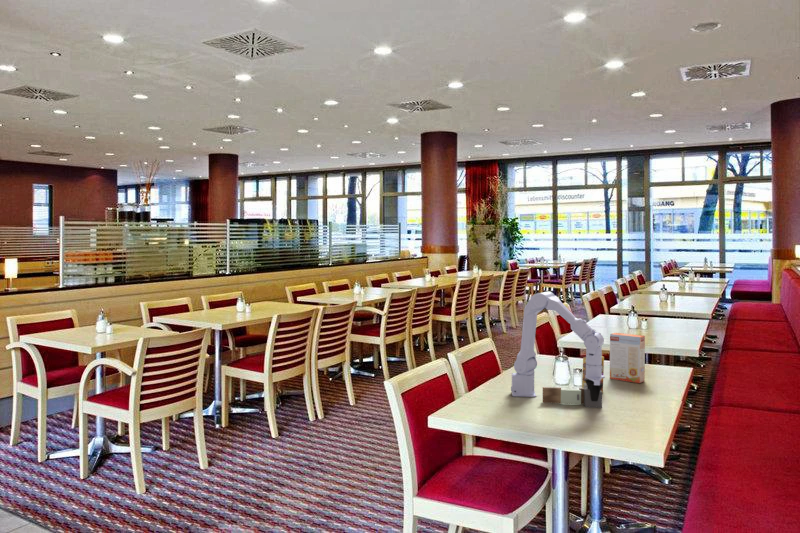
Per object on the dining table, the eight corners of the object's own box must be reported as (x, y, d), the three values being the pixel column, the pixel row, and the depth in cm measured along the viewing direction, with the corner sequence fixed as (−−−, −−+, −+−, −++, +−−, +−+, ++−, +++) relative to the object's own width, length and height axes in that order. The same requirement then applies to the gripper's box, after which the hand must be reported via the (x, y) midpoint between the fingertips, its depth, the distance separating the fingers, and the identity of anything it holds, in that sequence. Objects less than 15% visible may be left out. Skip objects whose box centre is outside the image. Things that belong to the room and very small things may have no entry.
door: (561, 404, 235) (561, 390, 234) (560, 403, 237) (560, 389, 236) (581, 405, 234) (581, 391, 233) (580, 403, 236) (580, 389, 235)
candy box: (589, 395, 249) (590, 358, 248) (581, 393, 252) (581, 357, 251) (604, 392, 254) (604, 356, 253) (595, 390, 257) (595, 354, 256)
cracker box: (645, 381, 271) (645, 335, 270) (639, 384, 267) (640, 337, 266) (614, 376, 281) (615, 331, 280) (609, 378, 277) (609, 333, 276)
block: (585, 407, 232) (585, 391, 232) (584, 404, 236) (584, 389, 236) (601, 407, 231) (602, 392, 231) (600, 404, 235) (600, 389, 235)
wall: (542, 402, 239) (542, 387, 238) (542, 401, 240) (542, 387, 239) (584, 404, 236) (584, 388, 236) (584, 403, 238) (584, 388, 237)
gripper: (608, 368, 225) (608, 404, 226) (601, 360, 239) (600, 394, 240) (588, 368, 226) (588, 404, 227) (582, 360, 240) (582, 394, 241)
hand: (593, 399), depth 234 cm, fingers closed on block, 4 cm apart
